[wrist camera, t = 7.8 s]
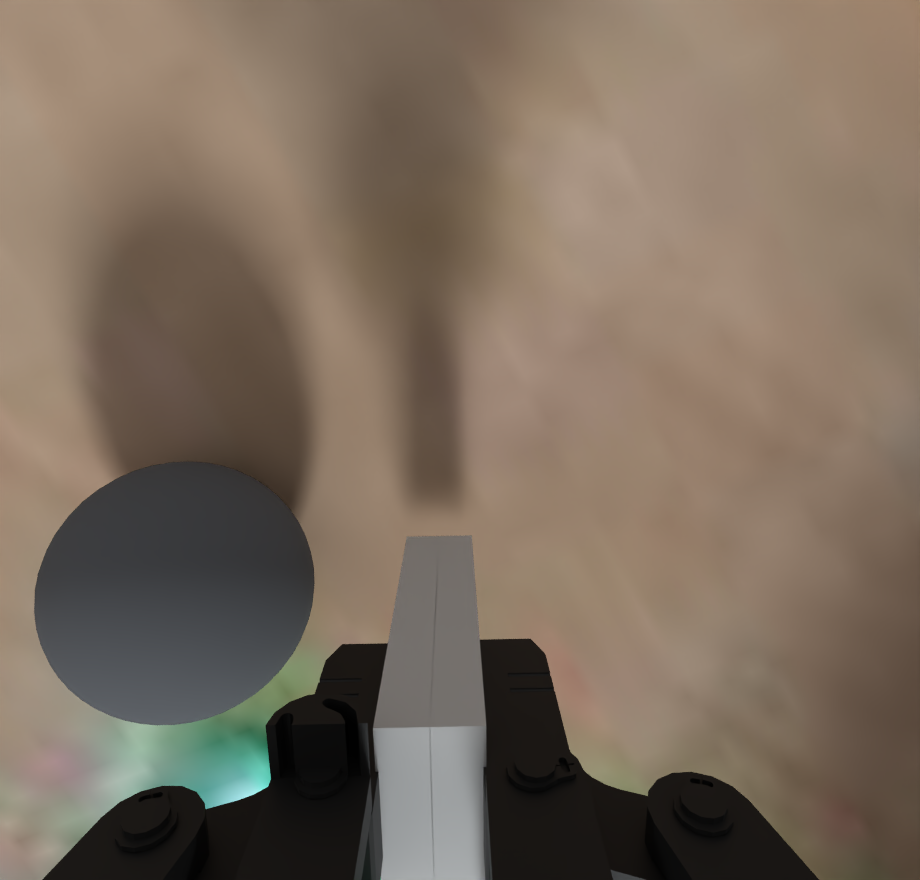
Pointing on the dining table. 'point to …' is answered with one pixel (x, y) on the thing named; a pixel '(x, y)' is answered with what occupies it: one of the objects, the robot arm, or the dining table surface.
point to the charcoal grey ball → (174, 593)
